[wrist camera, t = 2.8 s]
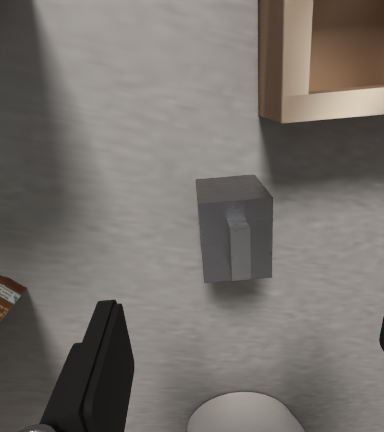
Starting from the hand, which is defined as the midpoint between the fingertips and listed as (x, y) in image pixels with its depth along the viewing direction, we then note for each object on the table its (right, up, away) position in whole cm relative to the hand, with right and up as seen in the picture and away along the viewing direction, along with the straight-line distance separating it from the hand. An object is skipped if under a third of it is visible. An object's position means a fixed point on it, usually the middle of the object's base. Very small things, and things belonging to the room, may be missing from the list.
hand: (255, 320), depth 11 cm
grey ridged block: (0, +4, +11) cm, 12 cm away
